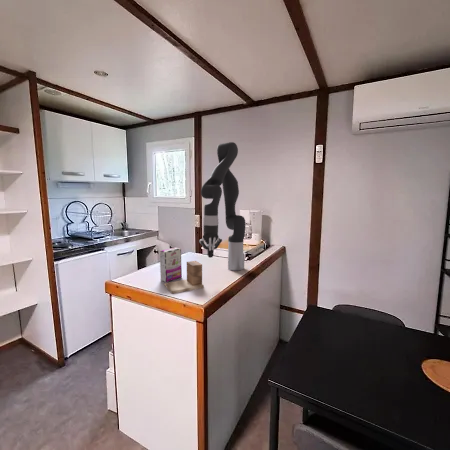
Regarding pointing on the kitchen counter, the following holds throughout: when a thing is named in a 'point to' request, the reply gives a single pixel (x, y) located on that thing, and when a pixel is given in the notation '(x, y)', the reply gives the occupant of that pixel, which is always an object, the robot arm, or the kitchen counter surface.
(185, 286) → the birch board
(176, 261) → the candy bar box
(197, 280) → the walnut block
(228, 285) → the kitchen counter surface
